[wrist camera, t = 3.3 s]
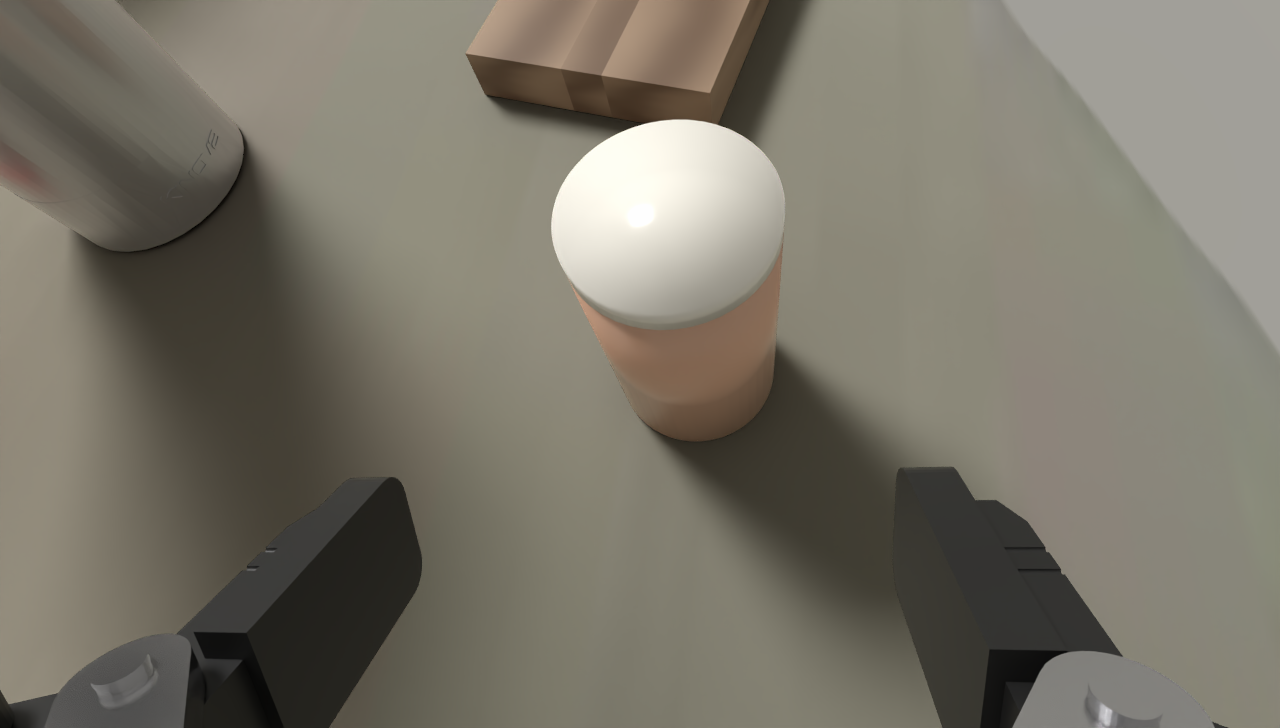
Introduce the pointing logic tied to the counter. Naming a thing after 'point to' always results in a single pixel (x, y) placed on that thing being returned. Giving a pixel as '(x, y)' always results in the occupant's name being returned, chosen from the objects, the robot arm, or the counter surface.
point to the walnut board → (617, 55)
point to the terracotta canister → (678, 270)
